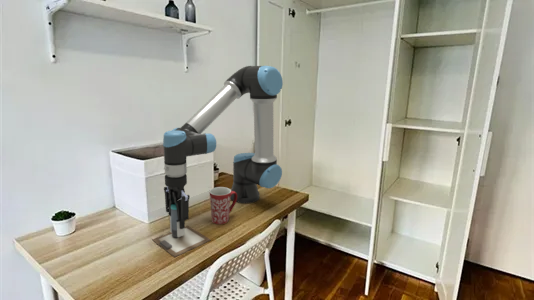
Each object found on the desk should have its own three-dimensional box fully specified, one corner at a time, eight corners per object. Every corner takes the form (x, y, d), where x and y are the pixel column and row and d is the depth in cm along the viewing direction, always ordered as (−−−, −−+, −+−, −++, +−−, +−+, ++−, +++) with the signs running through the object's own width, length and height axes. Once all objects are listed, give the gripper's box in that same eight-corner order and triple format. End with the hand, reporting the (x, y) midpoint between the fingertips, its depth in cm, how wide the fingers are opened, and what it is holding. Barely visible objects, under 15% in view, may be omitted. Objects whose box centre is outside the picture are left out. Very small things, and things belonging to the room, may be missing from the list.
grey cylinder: (179, 231, 113) (178, 202, 110) (185, 235, 110) (184, 205, 107) (169, 234, 110) (168, 205, 107) (175, 239, 107) (174, 208, 104)
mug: (215, 227, 118) (215, 196, 115) (205, 218, 125) (205, 189, 122) (242, 219, 126) (242, 190, 123) (231, 212, 133) (231, 184, 130)
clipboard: (187, 226, 118) (187, 223, 118) (210, 240, 109) (210, 237, 109) (152, 240, 107) (152, 236, 107) (174, 257, 98) (174, 253, 98)
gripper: (153, 170, 107) (156, 228, 113) (179, 182, 96) (181, 246, 102) (172, 166, 113) (174, 222, 118) (198, 177, 102) (199, 238, 107)
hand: (177, 233), depth 110 cm, fingers closed on grey cylinder, 4 cm apart
